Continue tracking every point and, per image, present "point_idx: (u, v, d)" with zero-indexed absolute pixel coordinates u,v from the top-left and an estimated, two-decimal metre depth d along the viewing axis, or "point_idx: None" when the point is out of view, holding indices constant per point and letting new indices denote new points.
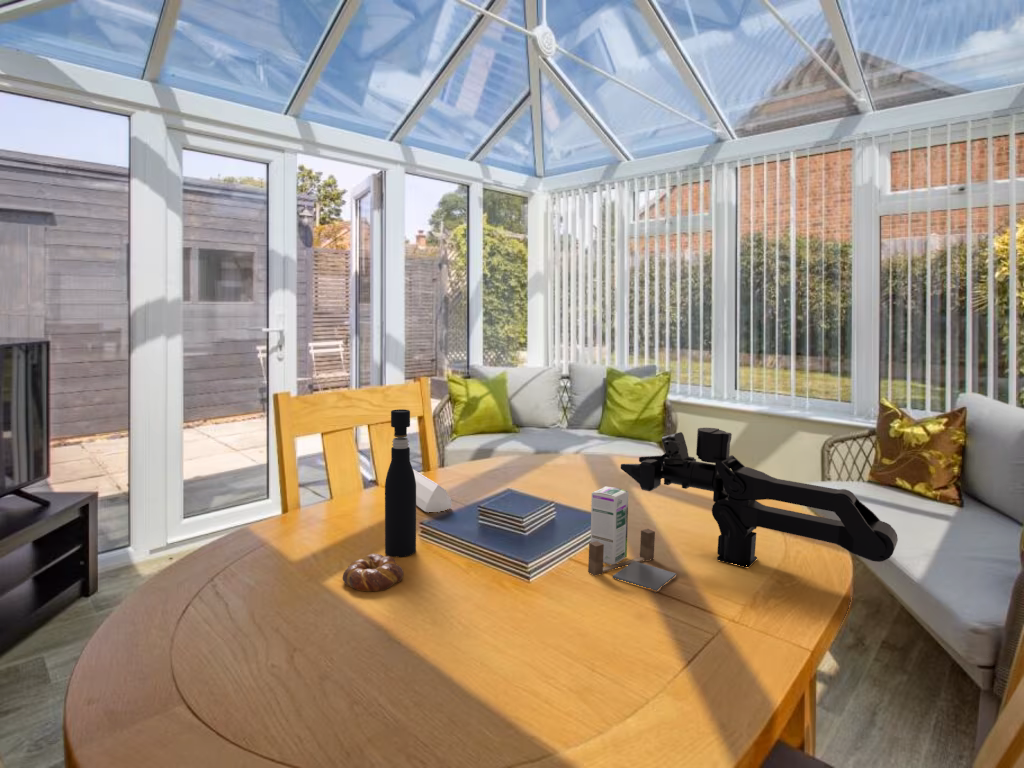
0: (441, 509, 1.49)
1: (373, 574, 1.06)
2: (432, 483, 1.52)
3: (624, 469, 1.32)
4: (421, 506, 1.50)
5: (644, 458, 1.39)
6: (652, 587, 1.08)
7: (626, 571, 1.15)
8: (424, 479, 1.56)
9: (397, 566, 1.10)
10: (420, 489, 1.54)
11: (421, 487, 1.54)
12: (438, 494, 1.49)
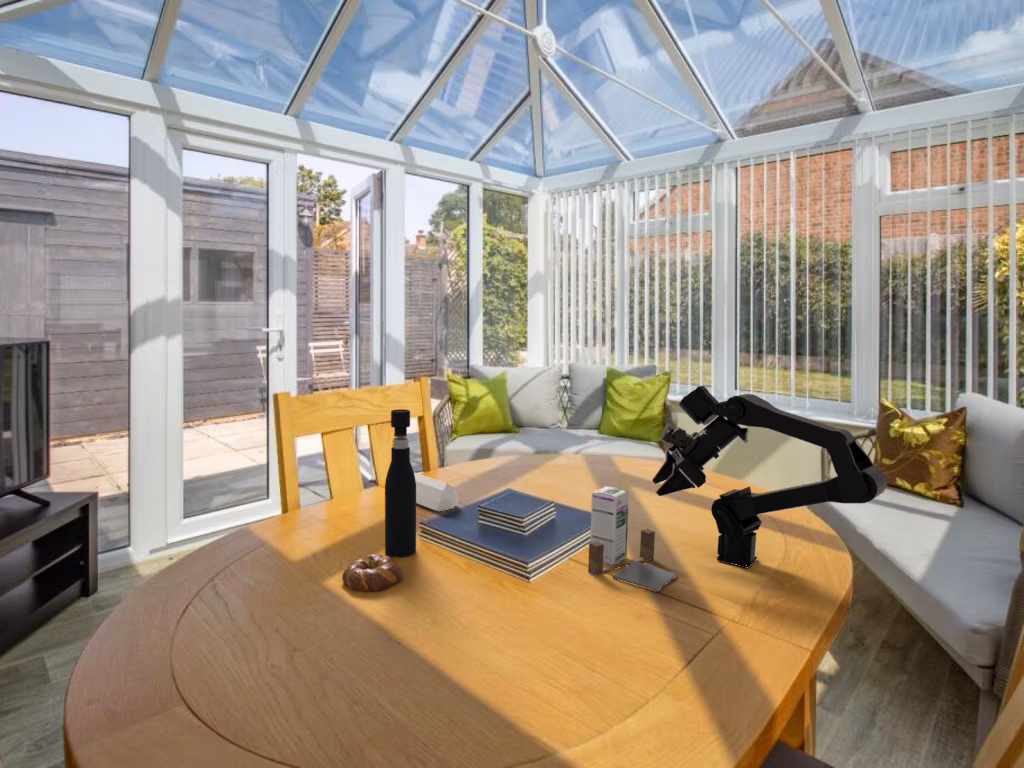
0: (451, 507, 1.51)
1: (372, 574, 1.06)
2: (439, 482, 1.53)
3: (663, 492, 1.22)
4: (430, 506, 1.51)
5: (657, 476, 1.31)
6: (652, 587, 1.08)
7: (626, 571, 1.15)
8: (426, 479, 1.56)
9: (397, 566, 1.10)
10: (424, 489, 1.54)
11: (425, 487, 1.54)
12: (448, 492, 1.50)
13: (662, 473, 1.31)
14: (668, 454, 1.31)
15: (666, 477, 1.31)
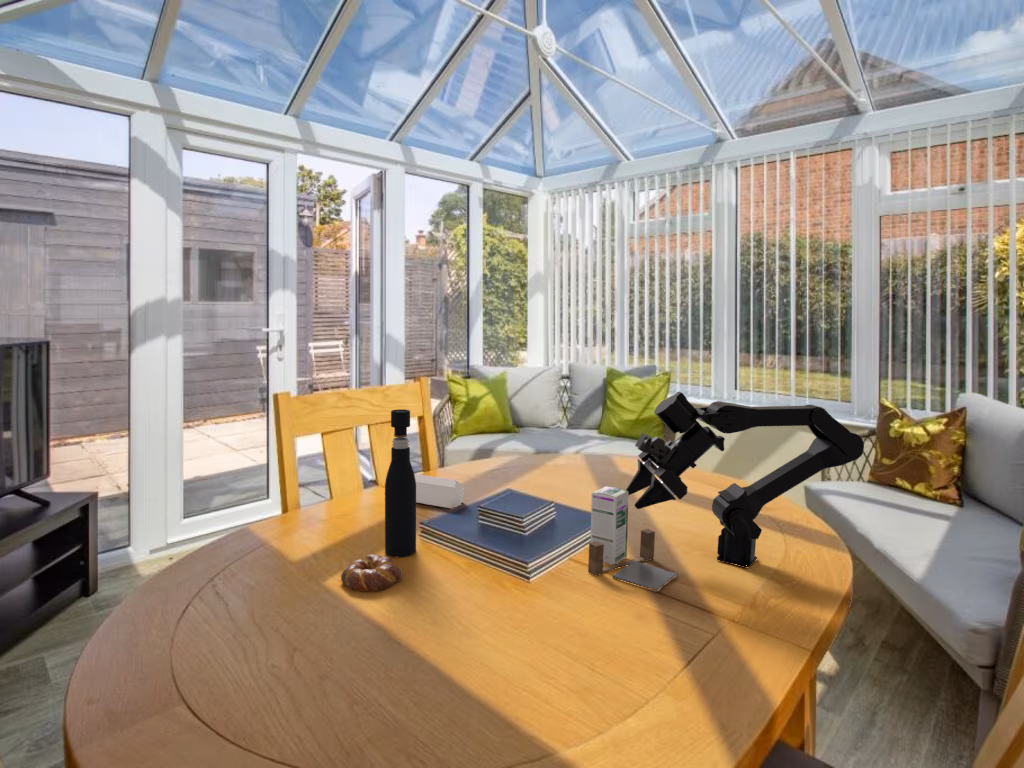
0: None
1: (371, 574, 1.06)
2: (446, 480, 1.55)
3: (642, 505, 1.16)
4: (440, 504, 1.52)
5: (630, 488, 1.26)
6: (652, 587, 1.08)
7: (626, 571, 1.15)
8: (429, 478, 1.57)
9: (395, 566, 1.10)
10: (430, 488, 1.55)
11: (430, 486, 1.55)
12: (458, 489, 1.53)
13: (635, 484, 1.26)
14: (641, 464, 1.26)
15: (639, 488, 1.26)
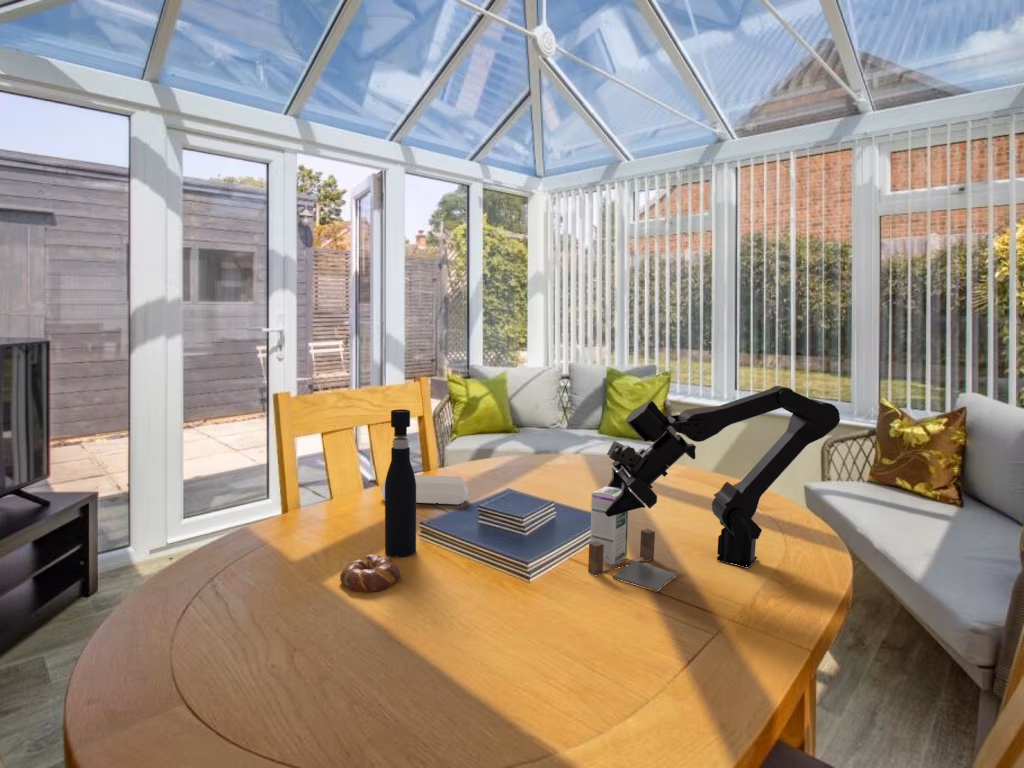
0: None
1: (370, 574, 1.06)
2: (450, 478, 1.57)
3: (612, 513, 1.17)
4: (448, 501, 1.55)
5: None
6: (652, 587, 1.08)
7: (626, 571, 1.15)
8: (431, 477, 1.58)
9: (395, 566, 1.10)
10: (435, 487, 1.56)
11: (435, 485, 1.56)
12: (463, 485, 1.57)
13: None
14: (615, 473, 1.25)
15: None
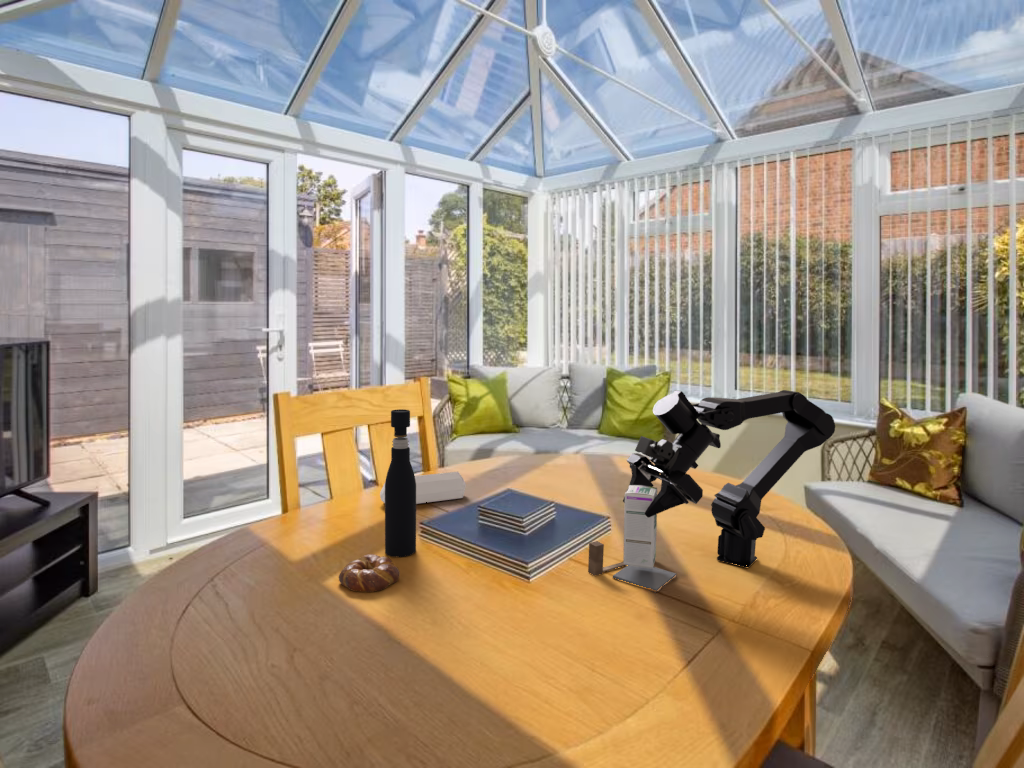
0: None
1: (369, 574, 1.06)
2: (450, 473, 1.61)
3: (653, 513, 1.09)
4: (454, 496, 1.59)
5: None
6: (652, 587, 1.08)
7: (626, 571, 1.15)
8: (432, 476, 1.59)
9: (393, 567, 1.10)
10: (439, 485, 1.58)
11: (438, 483, 1.58)
12: None
13: None
14: (637, 470, 1.18)
15: None
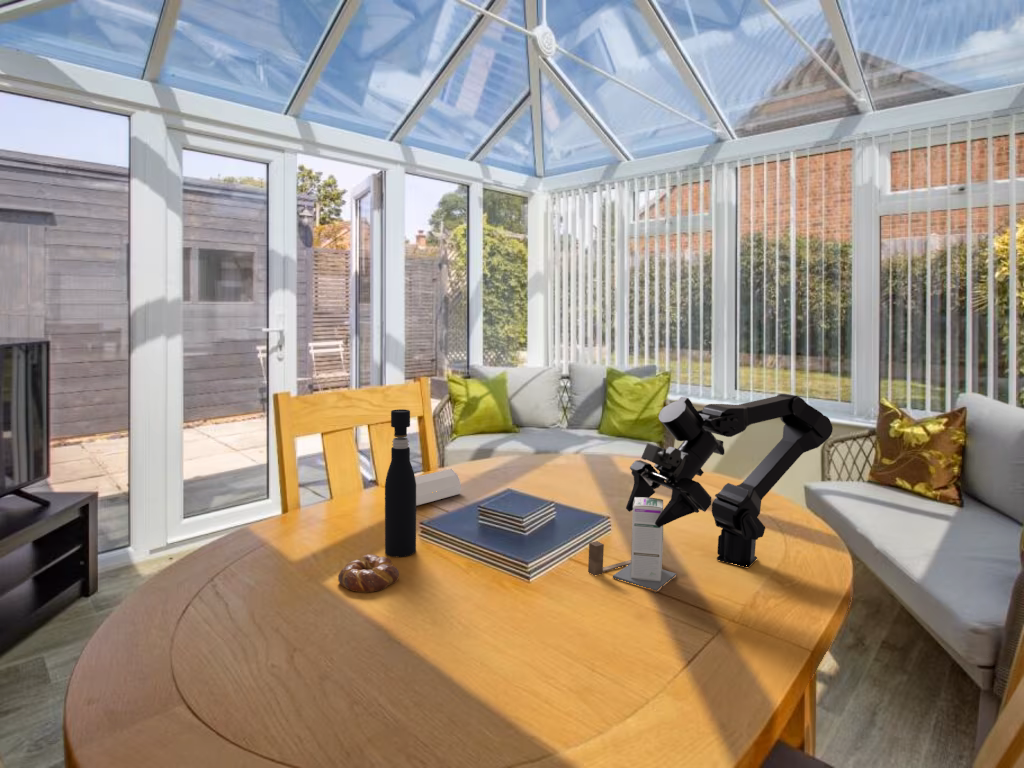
0: None
1: (368, 574, 1.06)
2: (445, 471, 1.64)
3: (663, 522, 1.08)
4: (453, 493, 1.62)
5: (631, 503, 1.16)
6: (652, 587, 1.08)
7: (626, 571, 1.15)
8: (431, 475, 1.60)
9: (393, 567, 1.10)
10: (439, 483, 1.60)
11: (438, 481, 1.60)
12: None
13: None
14: (640, 476, 1.17)
15: None
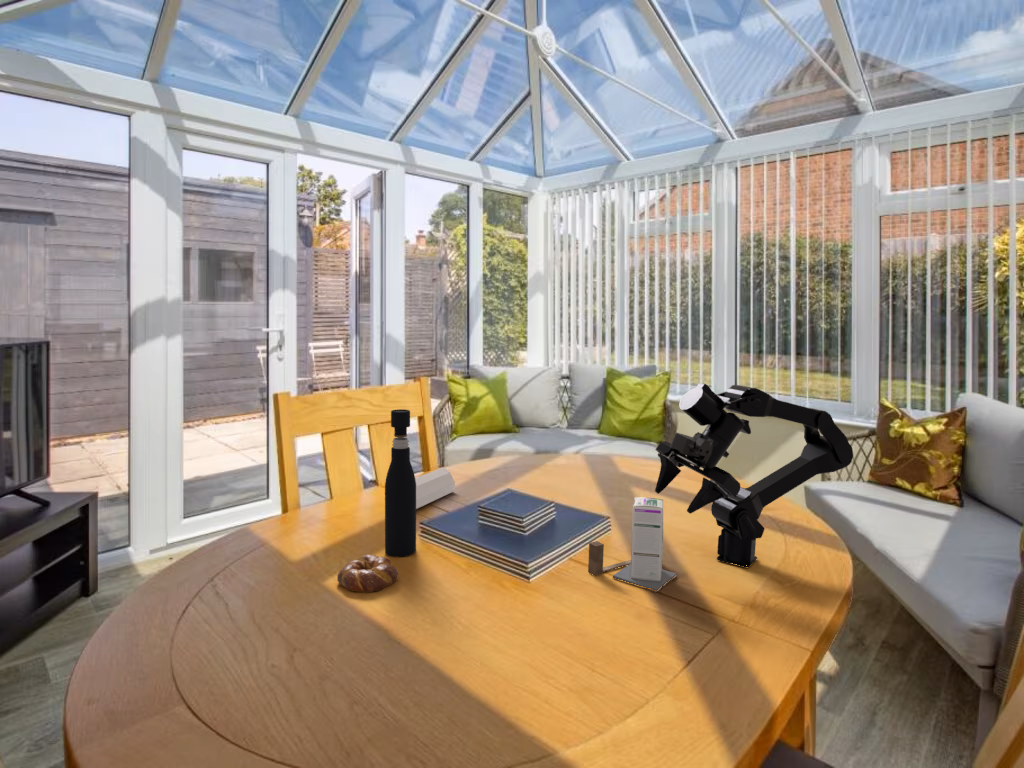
0: None
1: (367, 574, 1.06)
2: (440, 470, 1.65)
3: (695, 509, 1.13)
4: (449, 491, 1.64)
5: (660, 486, 1.21)
6: (652, 587, 1.08)
7: (626, 571, 1.15)
8: (429, 475, 1.60)
9: (392, 567, 1.09)
10: (438, 482, 1.61)
11: (437, 480, 1.61)
12: None
13: (663, 481, 1.21)
14: (667, 460, 1.21)
15: (667, 483, 1.22)
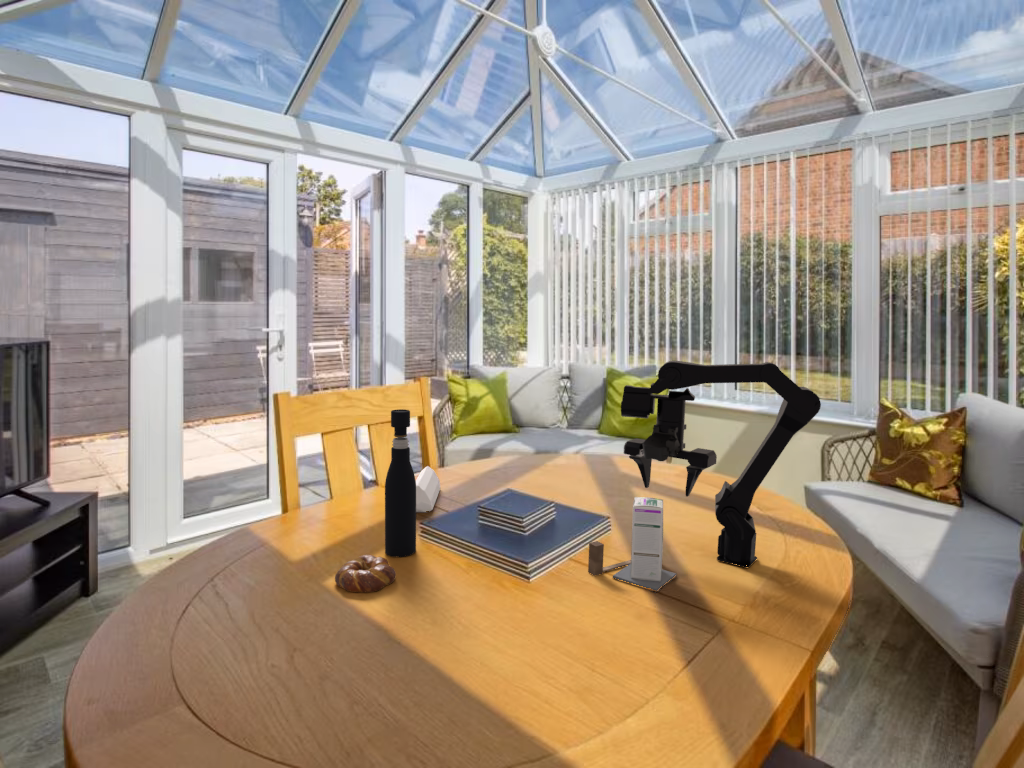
0: None
1: (365, 575, 1.06)
2: (428, 469, 1.66)
3: (690, 490, 1.23)
4: (439, 488, 1.67)
5: (647, 481, 1.29)
6: (652, 587, 1.08)
7: (626, 571, 1.15)
8: (426, 474, 1.61)
9: (389, 567, 1.09)
10: (433, 480, 1.62)
11: (432, 479, 1.62)
12: None
13: (646, 475, 1.29)
14: (641, 459, 1.27)
15: (649, 474, 1.30)
